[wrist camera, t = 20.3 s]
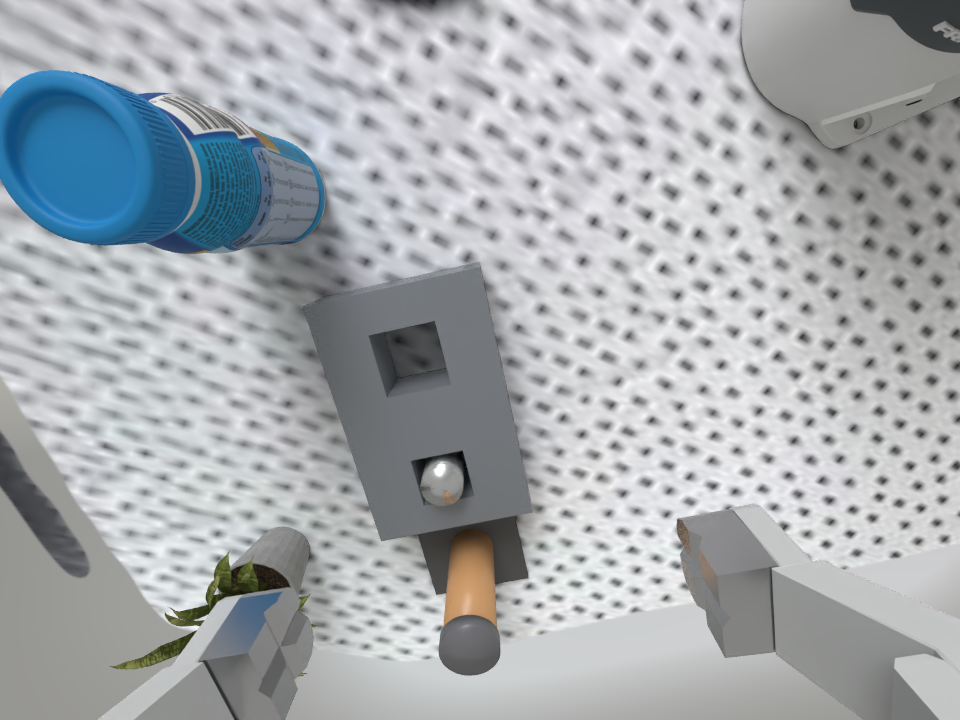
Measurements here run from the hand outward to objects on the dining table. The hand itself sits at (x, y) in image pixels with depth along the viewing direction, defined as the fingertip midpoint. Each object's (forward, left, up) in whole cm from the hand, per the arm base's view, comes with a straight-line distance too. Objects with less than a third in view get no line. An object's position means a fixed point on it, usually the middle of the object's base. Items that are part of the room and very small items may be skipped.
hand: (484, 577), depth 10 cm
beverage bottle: (+14, -13, -32) cm, 38 cm away
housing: (+6, +7, -32) cm, 34 cm away
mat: (+6, +24, -32) cm, 41 cm away
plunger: (+6, +13, -31) cm, 35 cm away
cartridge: (+6, +24, -32) cm, 40 cm away
